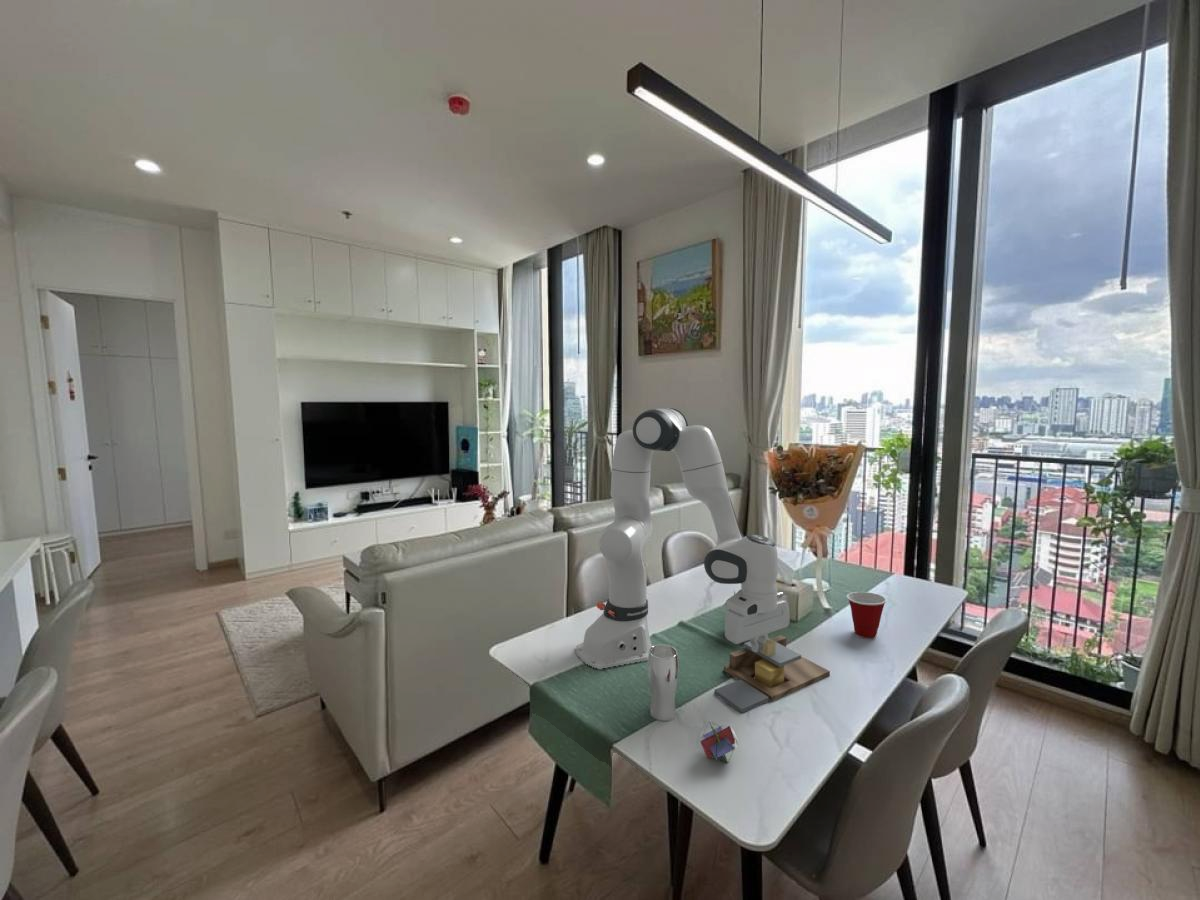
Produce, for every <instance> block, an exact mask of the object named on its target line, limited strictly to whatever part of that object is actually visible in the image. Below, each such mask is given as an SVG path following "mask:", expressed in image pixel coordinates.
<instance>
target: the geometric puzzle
mask: <svg viewBox="0 0 1200 900" xmlns="http://www.w3.org/2000/svg"><path fill="white" fill-rule="evenodd" d="M707 723H709V725H710V728H711V730H710V731H709V732H707V733H703V735H702V736H701V738H702V739H701V740H699V742H700V744H701V746H702V749H703V751H704V754H705V757H706V759H709V760H714V761H715V760H716V761H718V762H719V761H720V762H722V763H727V764H728V763H729V762H730V759H731V757H732V755H733V753H734V751H735V750H736V749H737V748H738V747H739V740H738V739H739V738H738V736H737V734H736V732H735V730H734V729H733V728H732V727H731V725H728V726H726V727H725V725H718V724H717V723H714V722H711V721H708V722H707ZM712 725H716V726H718V727H716V728H714V727H713V726H712ZM707 727H708V726H706V728H705V730H704V731H706V729H707ZM723 727H725V728H723ZM730 752H731V755H730V756H729V757H730V758H729V759H727V756H726V754H728V753H730ZM712 756H713V757H712ZM720 757H723V758H724V759H725V761H724V760H722V759H719V758H720Z"/></svg>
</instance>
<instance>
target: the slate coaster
mask: <svg viewBox="0 0 1200 900" xmlns="http://www.w3.org/2000/svg"><path fill="white" fill-rule="evenodd" d="M713 694H714V695H715V696H717V697H718V698H720V699H721V700H722V701H724V702H725V703H727V704H728V705H729V706H731V707H732V708H734V709H735V710H737V712H739V713H741V714H743V713H745V712H747V711H750V710H752V709H754V708H757V707H758V706H759V707H760V706H762V705H764V704H765V703H768V702H770V700H769V697H768V696H766V695H764V694H763V693H761V692H760V691H758V690H757V689H755V688H754V687H752V686H750V685H749V684H747V683H746V682H744V681H743V680H741V679H740V680H738V679H737V680H735V681H733V682H729V683H727V684H726V685H723V686H720V687H717V688H715V689H714V693H713Z"/></svg>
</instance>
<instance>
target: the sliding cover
mask: <svg viewBox="0 0 1200 900" xmlns="http://www.w3.org/2000/svg"><path fill="white" fill-rule="evenodd" d="M756 641H758V640H756ZM743 648H747V649H749V650H750V651H752V649H751V642H750V641H749V640H748V641H745V642H743ZM752 652H754V651H752ZM754 653H756V654H758V655H759V656H761V657H763V658H765V659H766V660H768V661H770V662H772V663H773V664H775V665H777V666H779V667H782V666H784V665H787V664H789V663H792V662H794V661H797V660H799V659H801V656H802V654H801V653H798V652H796V651H794V650H793V649H791V648H789V647H787V646H786V647H785V646H783V645H781V644H779V643H777V642H775V641H773V640H771V638H769V637H768V638H767V640H766V642H765V644H764V650H761V651H759V652H754Z"/></svg>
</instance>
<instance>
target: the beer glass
mask: <svg viewBox="0 0 1200 900" xmlns="http://www.w3.org/2000/svg"><path fill="white" fill-rule="evenodd" d="M648 655H649V657H648V660H647V674H648V675H647V676H648V683H649V689H650V693H651V695H650V697H651V699H650V700H651V701H650V705H649V706H650V707H649V714H650V716H651V718H653V719H655V720H656V721H660V722H667V721H672V720H674V719H675V717H676V715H677V709H676V703H675V696H676V689H677V685H678V680H679V679H678V678H679V657H678V656H679V654H678V650H677V649H676V648H675V647H674V646H672V645H670V644H663V643H661V644H660V643H659V644H655V645H652V647H651V648H650V649H649V654H648Z"/></svg>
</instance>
